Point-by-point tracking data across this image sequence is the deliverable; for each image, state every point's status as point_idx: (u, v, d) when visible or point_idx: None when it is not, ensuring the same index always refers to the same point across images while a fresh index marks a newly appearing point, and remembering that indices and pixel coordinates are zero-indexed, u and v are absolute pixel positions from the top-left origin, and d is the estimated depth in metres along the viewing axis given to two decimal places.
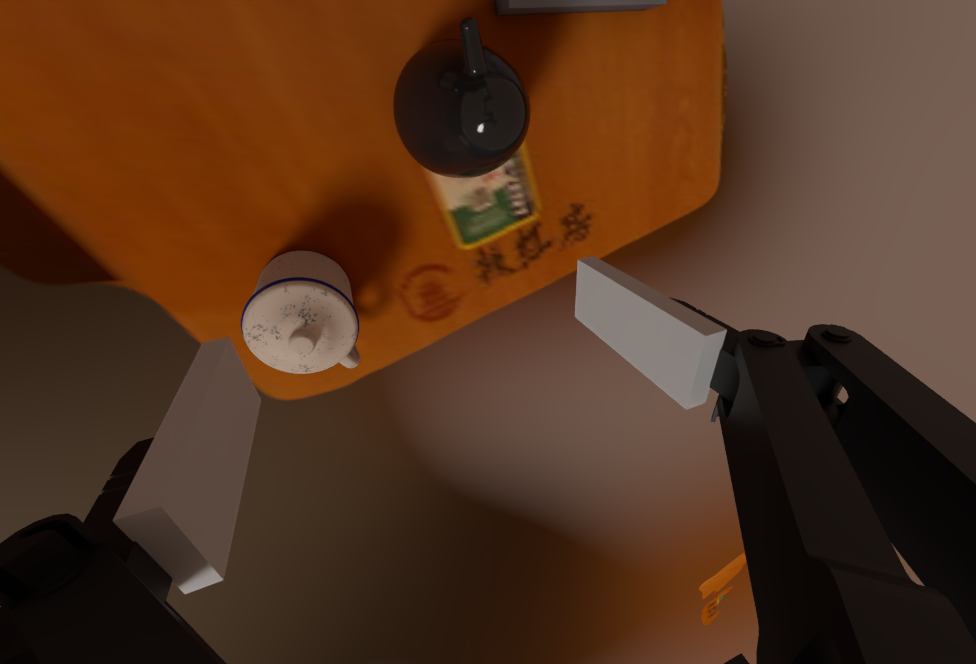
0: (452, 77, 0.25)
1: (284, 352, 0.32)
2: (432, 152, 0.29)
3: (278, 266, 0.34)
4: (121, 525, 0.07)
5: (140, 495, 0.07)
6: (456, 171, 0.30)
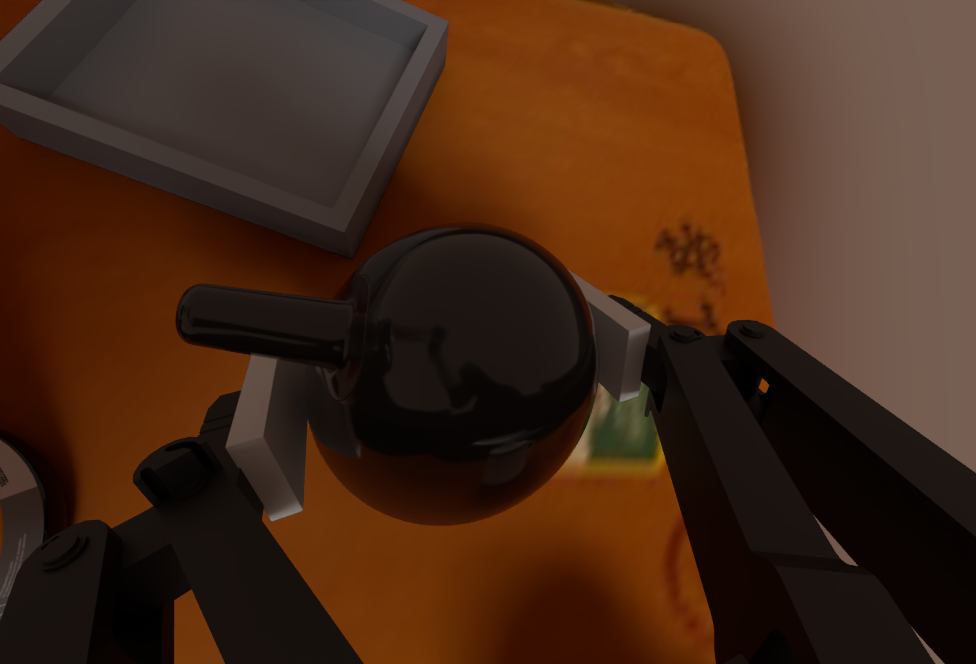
0: (335, 412, 0.08)
1: None
2: (490, 515, 0.11)
3: None
4: (231, 452, 0.08)
5: (243, 429, 0.09)
6: None
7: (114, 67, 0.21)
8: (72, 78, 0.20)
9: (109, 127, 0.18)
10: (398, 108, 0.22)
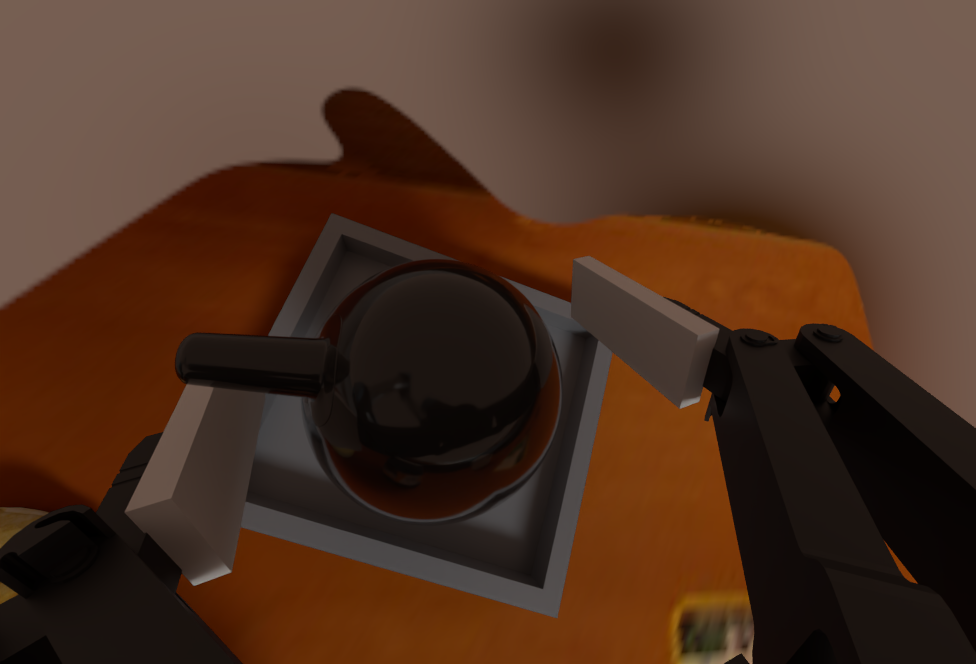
0: (317, 435, 0.09)
1: None
2: (467, 519, 0.12)
3: None
4: (133, 516, 0.07)
5: (151, 487, 0.08)
6: (529, 479, 0.12)
7: None
8: (264, 432, 0.20)
9: (326, 529, 0.18)
10: (586, 444, 0.21)
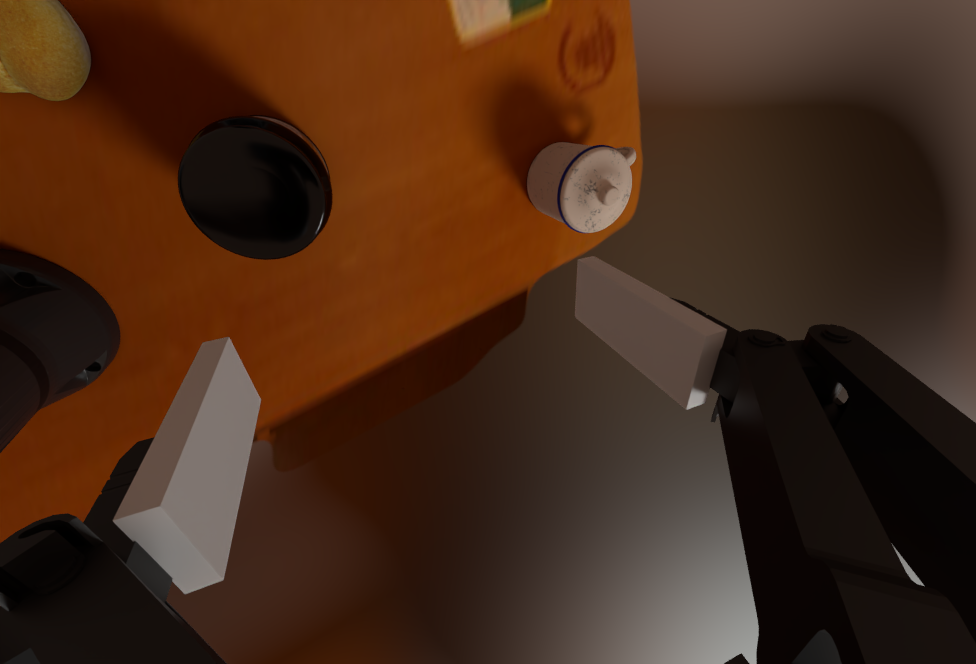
0: None
1: (610, 209, 0.42)
2: None
3: (541, 198, 0.45)
4: (121, 525, 0.07)
5: (140, 495, 0.07)
6: None
7: None
8: None
9: None
10: None
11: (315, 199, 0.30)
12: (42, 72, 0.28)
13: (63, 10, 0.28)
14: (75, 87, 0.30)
